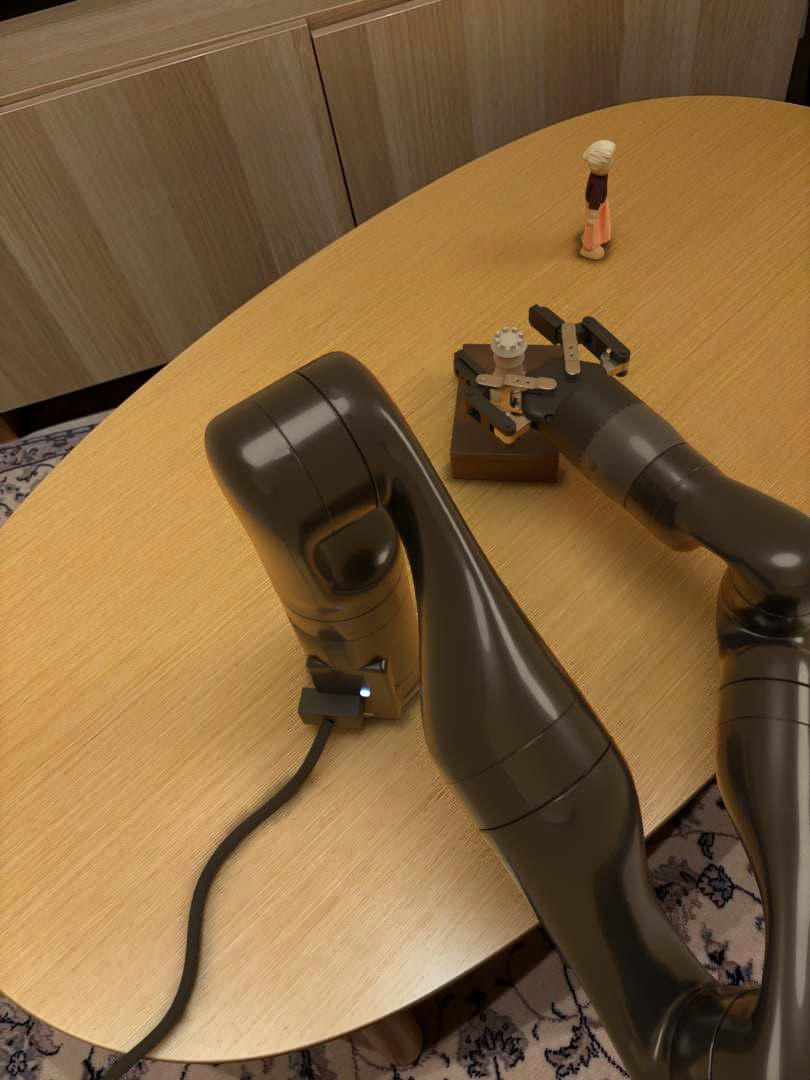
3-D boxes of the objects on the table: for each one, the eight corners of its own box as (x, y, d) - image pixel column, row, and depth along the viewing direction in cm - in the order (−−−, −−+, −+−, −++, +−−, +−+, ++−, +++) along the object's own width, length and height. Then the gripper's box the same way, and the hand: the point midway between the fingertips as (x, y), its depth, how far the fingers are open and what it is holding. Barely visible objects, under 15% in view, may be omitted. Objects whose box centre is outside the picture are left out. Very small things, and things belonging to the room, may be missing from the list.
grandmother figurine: (614, 264, 97) (626, 162, 86) (579, 267, 97) (587, 166, 87) (606, 220, 101) (617, 117, 90) (573, 223, 101) (580, 121, 91)
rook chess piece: (542, 394, 83) (545, 332, 76) (512, 422, 81) (512, 362, 74) (506, 373, 84) (505, 311, 78) (476, 400, 83) (473, 339, 76)
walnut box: (557, 482, 82) (559, 456, 78) (452, 478, 83) (449, 453, 80) (561, 372, 89) (563, 344, 86) (464, 370, 91) (463, 343, 87)
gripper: (548, 515, 72) (434, 401, 80) (676, 429, 75) (554, 328, 83) (552, 459, 65) (427, 342, 73) (691, 368, 69) (557, 265, 77)
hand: (495, 334), depth 78 cm, fingers open, 8 cm apart
